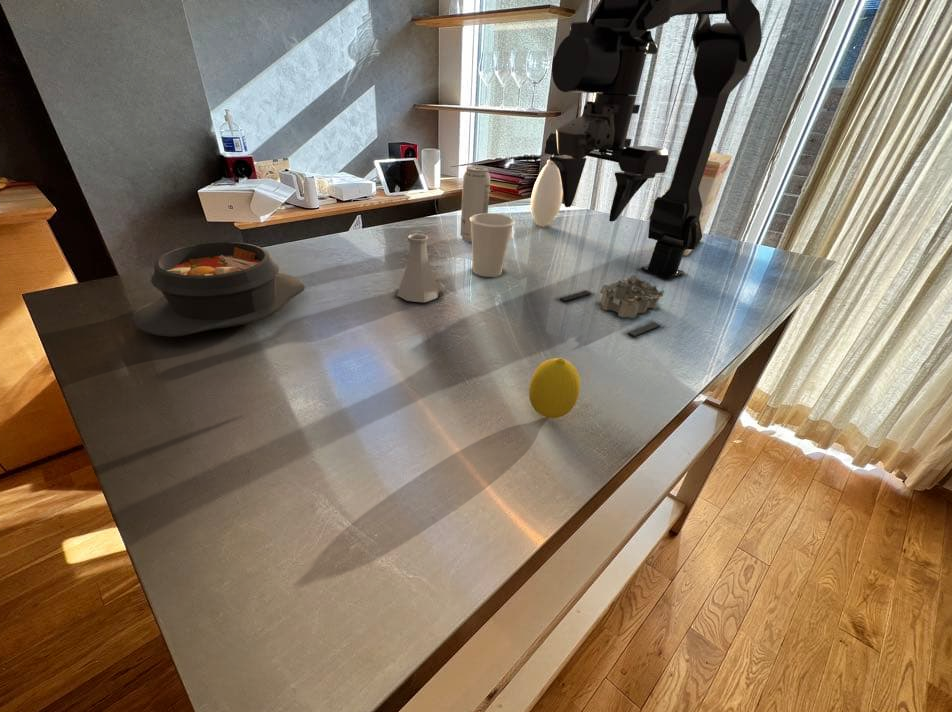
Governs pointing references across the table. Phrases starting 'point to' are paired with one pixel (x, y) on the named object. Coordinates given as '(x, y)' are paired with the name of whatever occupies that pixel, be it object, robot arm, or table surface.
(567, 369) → the lemon
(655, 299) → the tan rough lump
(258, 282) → the casserole
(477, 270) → the dixie cup
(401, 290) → the flask
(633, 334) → the bay strips
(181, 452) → the table surface
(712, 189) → the coffeecake box
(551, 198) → the air blower bulb
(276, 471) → the table surface
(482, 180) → the energy drink can
